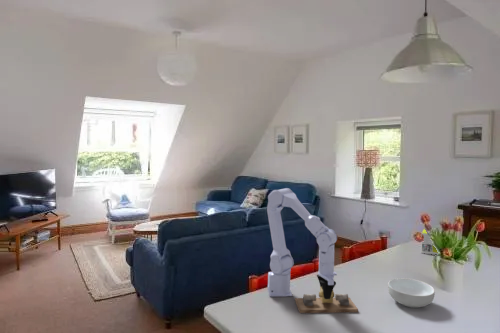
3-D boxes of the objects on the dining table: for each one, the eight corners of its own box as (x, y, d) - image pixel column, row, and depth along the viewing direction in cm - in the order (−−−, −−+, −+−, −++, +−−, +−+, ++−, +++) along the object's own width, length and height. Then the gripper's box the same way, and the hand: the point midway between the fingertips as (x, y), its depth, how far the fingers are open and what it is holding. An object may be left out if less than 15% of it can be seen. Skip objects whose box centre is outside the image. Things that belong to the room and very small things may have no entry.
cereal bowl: (378, 298, 145) (378, 281, 145) (408, 291, 152) (409, 275, 151) (412, 316, 130) (412, 298, 129) (444, 308, 136) (444, 290, 136)
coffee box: (444, 256, 200) (445, 235, 199) (420, 253, 206) (421, 232, 205) (445, 251, 211) (446, 230, 210) (422, 248, 217) (423, 228, 216)
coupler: (320, 302, 135) (320, 290, 135) (317, 298, 139) (318, 285, 139) (334, 302, 135) (335, 290, 135) (332, 298, 139) (332, 285, 139)
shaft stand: (299, 312, 132) (299, 300, 132) (295, 301, 142) (295, 289, 142) (357, 312, 133) (358, 299, 132) (349, 300, 143) (349, 288, 142)
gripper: (342, 268, 129) (341, 304, 130) (331, 255, 144) (330, 288, 144) (323, 268, 129) (322, 304, 130) (314, 255, 143) (313, 288, 144)
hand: (325, 296), depth 137 cm, fingers closed on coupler, 4 cm apart
